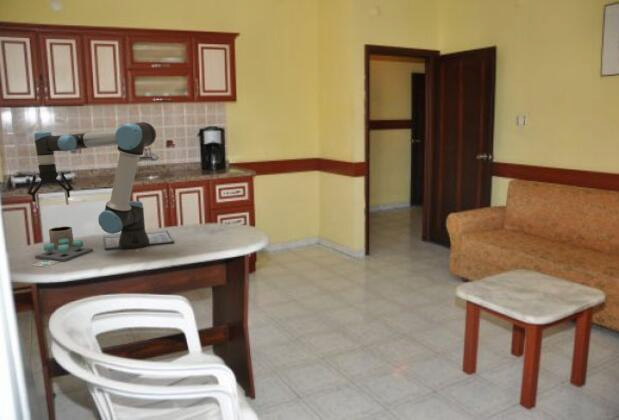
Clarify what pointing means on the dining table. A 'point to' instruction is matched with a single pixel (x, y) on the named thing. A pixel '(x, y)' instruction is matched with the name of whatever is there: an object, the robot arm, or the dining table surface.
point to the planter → (60, 235)
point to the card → (45, 263)
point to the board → (64, 257)
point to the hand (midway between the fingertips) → (52, 206)
